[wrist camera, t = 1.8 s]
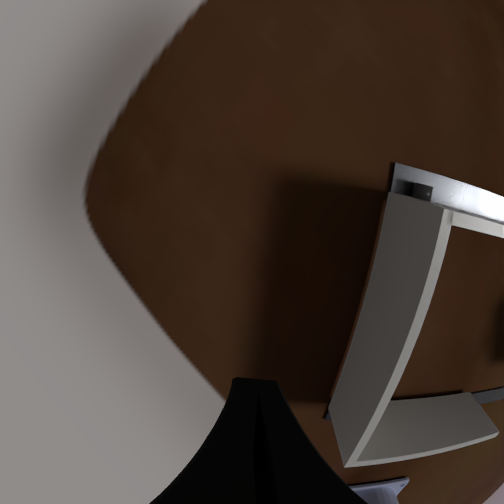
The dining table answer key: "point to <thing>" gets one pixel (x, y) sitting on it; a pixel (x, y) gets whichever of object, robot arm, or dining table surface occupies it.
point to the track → (456, 197)
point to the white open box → (403, 343)
